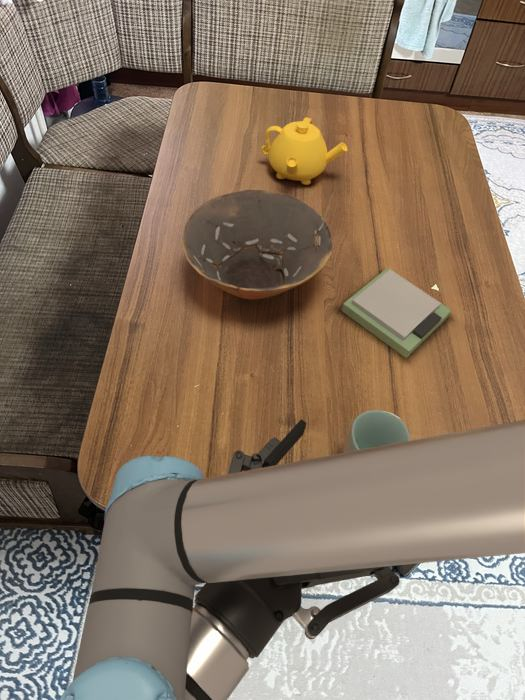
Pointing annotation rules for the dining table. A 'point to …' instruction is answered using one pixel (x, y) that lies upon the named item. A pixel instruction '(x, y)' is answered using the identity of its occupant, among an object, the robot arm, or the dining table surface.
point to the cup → (375, 431)
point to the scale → (396, 311)
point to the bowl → (256, 242)
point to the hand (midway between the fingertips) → (352, 463)
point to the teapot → (299, 151)
